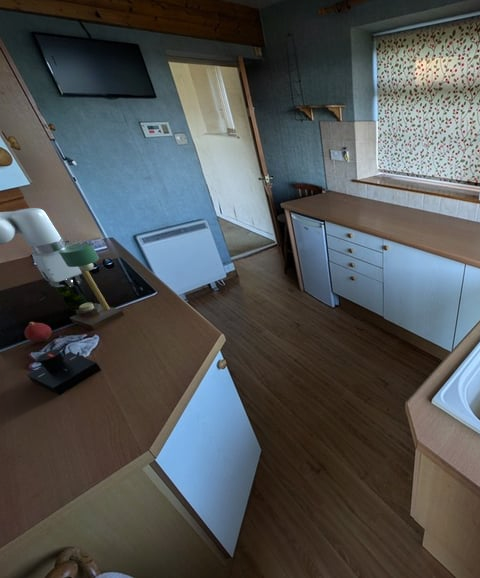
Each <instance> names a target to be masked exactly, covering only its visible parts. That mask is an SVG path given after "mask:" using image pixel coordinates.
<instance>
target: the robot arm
mask: <svg viewBox="0 0 480 578" xmlns="http://www.w3.org/2000/svg"><path fill="white" fill-rule="evenodd" d="M17 234H21V235H22V237H23V238H24V239H25V241H26V243H27V244H28V245H29V247H30V249H31V250H32V251H33V253H34V254H32V258H33V261H34V263H35V265H36V267H37V268H38V269H37V270H38V271H39V272H40V275H42V277H43V279H44V280H46V281H48V284H49V286H50V287H54V288H55V286H59V285H65V286H68V287H69V289H70V290H71V291H72V293H73V294H76V295H84V294H86V292H85V287H84V286H83V284H82V283H83V282H82V280H83V278H84V276H83V274H82V272H81V271H80V269H79V267H68V266H67V265H66V263H65V262H64V260H63V258H62V257H61V255H60V253H59V252H58V251H59V250H60V249H62V248H64V247H67V246H68V245H67V243H69V242H70V240H69V238H67V237H66V238H62V236H61V235H60V233H59V231H58V230H57V229H56V227H55V226H54V224H53V222H52V221H51V219H50V217H49V216H48V214H47V213H46V211H44V209H42V208H38V207H29V208H23V209H22V208H21V209H17V210H13V211H0V245H4V244H7V243H9V242H11V241H12V240H13V239H14V237H15V235H17ZM88 272H89V273H90V271H88ZM69 278H71V279H72V280H73V283H72V282H71V281H70V280H69Z"/></svg>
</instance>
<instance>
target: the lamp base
mask: <svg viewBox="0 0 480 578" xmlns="http://www.w3.org/2000/svg"><path fill="white" fill-rule="evenodd" d="M92 304H93V305H94V308H93V309H91V310H88V311H82V310H81V309H80V308H79V309H77V310H76V311H75V313H76V314H74V315H72V316H70V317H69V320H70V321H71V322H72V323H73V322H75V323H74V324H76V323H77V324H76V325H78V324H79V326H82V327H84V328H86V329H89V330H92V331H96V330H98V329H100V328H102V327H103V326H106V325H108V324H109V323H111V322H113V321H116V320H117V319H120V318H121V317H123V316H125V313H124V312H123V310H122V309H119V308H116V307H112V306H109V308H110V309H109V310H107V311H105V310H104V309H103V307H102V305H101V304H100V303H97V302H95V303H93V302H92Z"/></svg>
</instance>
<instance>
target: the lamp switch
mask: <svg viewBox="0 0 480 578" xmlns="http://www.w3.org/2000/svg"><path fill="white" fill-rule="evenodd" d="M93 308H94V305H93V302H90V301H89V302H87V303H85V304H82V305H81V306H80V309H81V310H82V311H88V310H91V309H93Z"/></svg>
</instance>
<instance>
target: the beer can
mask: <svg viewBox="0 0 480 578" xmlns="http://www.w3.org/2000/svg"><path fill="white" fill-rule="evenodd" d="M69 280H70V281H71V282H72V283H73V280H72V278H69ZM54 288H55V289H56V291H57V293H58V294H59V296H60V297H61V298H62V300H63V302H64V303H65V305H66V306H67V307H68V309H69V310H70V311H73V312H76V310H77V309H79V308H80V306H81V305H82V304H85V303H88V301H87V299H86V298H85V297H84V294H82V295H76V294H73V293H72V291H71V290H70V289H69V287H68V286H65V285H59V286H54Z"/></svg>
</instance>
